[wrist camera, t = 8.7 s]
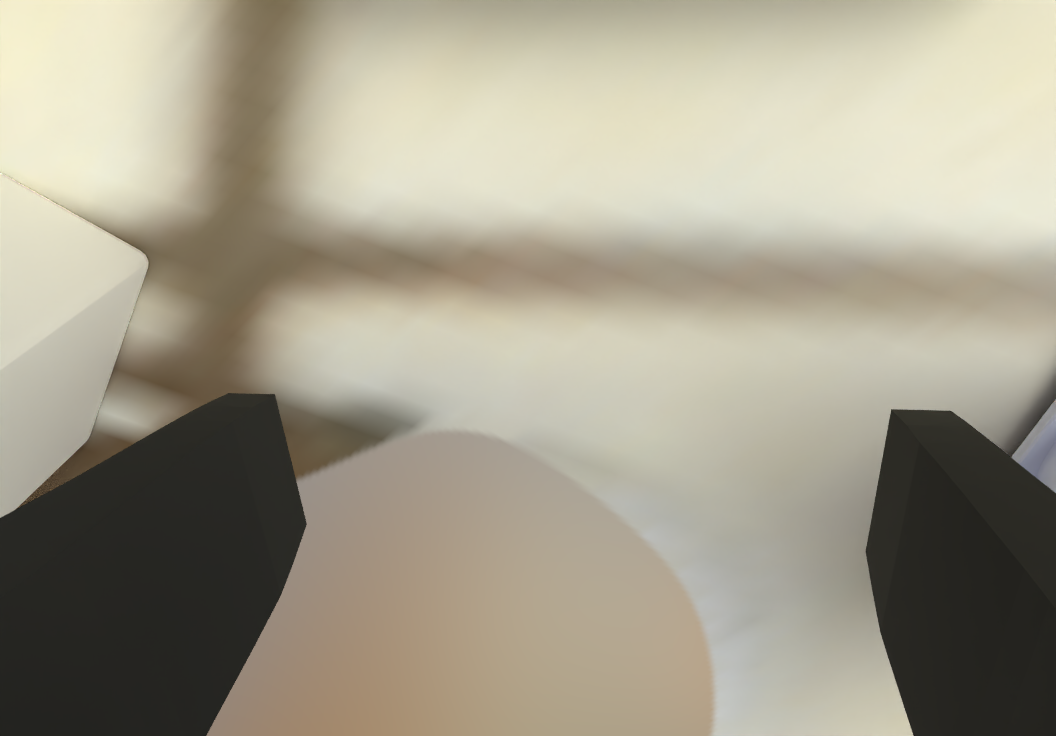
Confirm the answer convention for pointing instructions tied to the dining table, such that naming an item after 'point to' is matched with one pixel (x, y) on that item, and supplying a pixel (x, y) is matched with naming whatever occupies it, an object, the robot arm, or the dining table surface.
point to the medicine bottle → (55, 332)
